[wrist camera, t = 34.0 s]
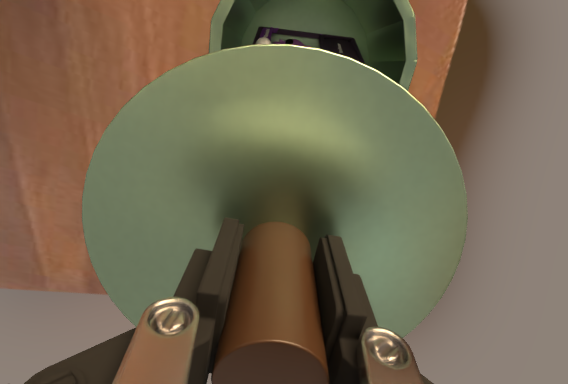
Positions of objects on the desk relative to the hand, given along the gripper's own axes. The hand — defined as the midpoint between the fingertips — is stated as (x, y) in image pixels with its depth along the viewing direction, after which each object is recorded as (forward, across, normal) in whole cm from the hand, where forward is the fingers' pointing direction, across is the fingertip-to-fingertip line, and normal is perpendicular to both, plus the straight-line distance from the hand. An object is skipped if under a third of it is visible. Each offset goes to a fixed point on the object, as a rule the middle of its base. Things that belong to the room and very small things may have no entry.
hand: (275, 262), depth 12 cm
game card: (+23, -1, -7) cm, 25 cm away
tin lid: (+1, 0, 0) cm, 1 cm away
